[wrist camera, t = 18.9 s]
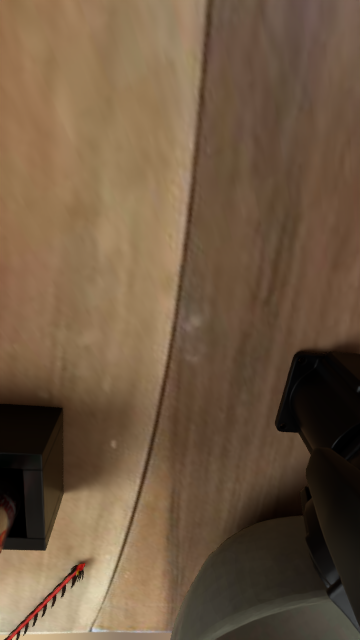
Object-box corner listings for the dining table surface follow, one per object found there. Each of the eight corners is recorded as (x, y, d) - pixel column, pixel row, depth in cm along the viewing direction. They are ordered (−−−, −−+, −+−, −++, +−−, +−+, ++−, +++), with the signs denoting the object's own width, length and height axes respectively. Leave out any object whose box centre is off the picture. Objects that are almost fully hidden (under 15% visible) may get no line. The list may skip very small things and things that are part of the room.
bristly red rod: (75, 566, 28) (81, 553, 29) (-39, 682, 34) (-30, 667, 35) (87, 576, 28) (93, 563, 29) (-29, 690, 34) (-20, 676, 35)
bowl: (365, 602, 34) (441, 756, 25) (170, 623, 34) (174, 787, 25) (402, 454, 27) (530, 595, 18) (152, 477, 26) (148, 635, 17)
